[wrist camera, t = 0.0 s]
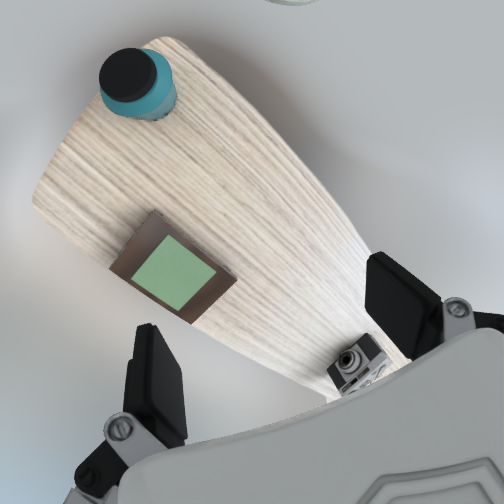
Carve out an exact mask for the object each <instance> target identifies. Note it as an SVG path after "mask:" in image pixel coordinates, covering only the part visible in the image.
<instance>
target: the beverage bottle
mask: <svg viewBox="0 0 504 504" xmlns="http://www.w3.org/2000/svg"><path fill="white" fill-rule="evenodd" d="M99 83H100V91H101V96H102V99H103V102H104V103H105V105H106V106H107V107H108V109H110V110H111V111H112V112H114V113H115V114H118V115H121V116H125V117H133V118H136V120H138V119H139V120H140V119H142V121H143V120H154V121H156V120H157V119H160V118H165V117H164V116H167V115H168V113H169V112H170V111H171V110H173V107H174V105H175V102H176V101H177V99H176V98H177V97H178V96H177V95H178V94H177V93H178V92H177V93H176V90H177V89H175V85H174V82H173V79H172V71H171V67H170V65H169V63H168V61H167V60H166V59H165V58H164V57H163V56H162V55H161V54H159V53H158V52H156V51H153V50H150V49H136V48H126V49H122V50H119V51H117V52H115V53H114V54H112V55H111V56H109V58H108V59H107V60H106V61H105V62H104V64H103V65H102V67H101V70H100V73H99ZM174 108H175V107H174ZM170 113H171V112H170ZM137 118H138V119H137ZM149 122H150V121H149Z"/></svg>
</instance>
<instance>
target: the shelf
mask: <svg viewBox="0 0 504 504" xmlns="http://www.w3.org/2000/svg"><path fill="white" fill-rule="evenodd" d="M109 269H110V270H111V271H113V272H114V273H115V274H117V275H118V276H119V277H121V278H122V279H123V280H125V281H126V282H128V283H129V284H130V285H132V286H133V287H135V288H136V289H138V290H139V291H140V292H142V293H143V294H145V295H146V296H148V297H149V298H151V299H152V300H154V301H155V302H157V303H158V304H160V305H161V306H163V307H164V308H166V309H167V310H169V311H170V312H172V313H173V314H175V315H177V316H178V317H180V318H181V319H183V320H185V321H186V322H188V323H189V324H192V323H193V322H194V321H196V320H197V319H198V318H199V317H200V316H201V315H202V314H203V313H204V312H205V311H206V310H207V309H208V308H209V307H210V306H211V305H212V304H213V303H214V302H215V301H216V300H217V299H218V298H220V297H221V296H222V295H223V294H224V293H225V292H226V291H227V290H228V289H229V288H230V287H231V286H232V285H233V284H234V283H235V282H236V281H237V280H238V279H237V277H236V275H234V274H233V273H232V272H231V270H229V269H228V268H227V267H226V266H224V265H222V264H220V263H219V262H218V261H216V260H215V259H214V258H213V257H211V256H210V255H209V254H208V253H206V252H205V251H204V250H203V249H201V248H200V247H199V246H198V245H196V244H195V243H194V242H193V241H192V240H190V239H189V238H188V237H187V236H185V235H184V234H183V233H182V232H180V231H179V230H178V229H177V228H176V227H174V226H173V225H172V224H171V223H169V222H168V221H167V220H166V219H165V218H163V215H162V214H160V213H159V212H158V211H157V210H155V209H154V210H153V212H152V213H151V214H150V215H149V216H148V218H147V219H146V220H145V221H144V222H143V224H142V225H141V226H140V227H139V229H138V230H137V231H136V232H135V234H134V235H133V236H132V237H131V239H130V240H129V241H128V242H127V244H126V245H125V246H124V248H123V249H122V250H121V252H120V253H119V254H118V256H117V257H116V259H115V260H114V261H113V263H112V264H111V266H110V268H109Z"/></svg>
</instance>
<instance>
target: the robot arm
mask: <svg viewBox="0 0 504 504" xmlns="http://www.w3.org/2000/svg"><path fill="white" fill-rule="evenodd" d="M365 309H366V311H367V313H368V314H369V315H370V316H371V318H372V319H373V320H374V321H375V322H376V323H377V324H378V325H379V327H380V328H381V329H382V330H383V331H384V332H385V333H386V335H387V336H388V337H389V338H390V339H391V340H392V342H393V343H394V344H395V345H396V346H397V347H398V349H399V350H400V351H401V352H402V353H403V355H404V356H405V357H406V358H408V359H411V360H412V361H413V362H411V363H409V364H407V365H406V366H404V367H402V368H400V369H399V370H397V371H395V372H393V373H391V374H389V375H388V376H386V377H384V378H382V379H380V380H378V381H376V382H374V383H372V384H370V385H368V386H366V387H364V388H362V389H360V390H357V391H355V392H353V393H351V394H349V395H347V396H344V397H342V398H340V399H337V400H335V401H333V402H330V403H328V404H325V405H323V406H321V407H318V408H315V409H313V410H310V411H308V412H305V413H302V414H300V415H296V416H294V417H291V418H288V419H285V420H282V421H279V422H276V423H272V424H269V425H266V426H263V427H259V428H256V429H252V430H248V431H245V432H241V433H237V434H233V435H229V436H225V437H221V438H217V439H212V440H208V441H203V442H199V443H194V444H189V445H185V442H184V440H185V439H187V438H188V435H187V427H186V416H185V406H184V395H183V382H182V372H181V368H180V366H179V364H178V363H177V361H176V359H175V357H174V356H173V354H172V352H171V351H170V349H169V347H168V345H167V344H166V342H165V340H164V338H163V336H162V335H161V333H160V331H159V329H158V328H157V326H156V325H154V326H153V325H152V324H151V323H147V324H143V325H139V326H138V327H137V330H136V336H135V343H134V351H133V359H131V360H129V362H128V366H127V375H126V383H125V392H124V403H123V412H119V413H116V414H114V415H112V416H111V417H110V418H109V419H108V420H107V421H106V423H105V425H104V430H103V431H104V436H105V438H106V440H105V441H104V442H102V443H101V445H100V446H99V447H98V448H97V449H95V450H94V451H93V452H92V453H91V454H90V455H89V456H88V457H87V458H86V459H85V460H84V461H83V462H82V463H81V464H80V465H79V466H78V468H77V469H76V471H75V475H74V480H75V484H76V487H75V489H73V488H71V490H70V492H69V494H68V496H67V498H66V499H65V501H64V503H63V504H504V315H501V314H492V313H483V312H475V311H472V307H471V305H470V304H469V303H468V302H467V301H466V300H464V299H461V298H458V297H452V298H449V299H447V300H445V301H444V303H443V302H441V297H440V296H438V295H437V294H436V293H435V292H434V291H433V290H431V289H430V288H429V287H428V286H426V285H425V284H424V283H423V282H421V281H420V280H419V279H417V278H416V277H415V276H414V275H412V274H411V273H410V272H409V271H407V270H406V269H405V268H404V267H402V266H401V265H400V264H398V263H397V262H396V261H394V260H393V259H392V258H390V257H389V256H388V255H386V254H385V253H384V252H381V251H380V252H377V253H375V254H372V255H370V256H369V259H368V260H367V266H366V293H365Z"/></svg>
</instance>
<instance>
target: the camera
mask: <svg viewBox="0 0 504 504" xmlns="http://www.w3.org/2000/svg"><path fill="white" fill-rule="evenodd" d="M392 363H393V362H392V360H391V359H390V358H389V357H388V355H387V354H386V353H385V351H384V350H383V349H382V348H381V346H380V345H379V344H378V343H377V341H376V340H375V339H374V338H373V337H372V336H370V335H369V334H368V333H365V334H364V335H363V336H362V337H361V338H360V339H359V340H358V341H357V342H356V343H355V344H354V345H353V346H352V347H351V348H350V349H349V350H346V351H344V352H342V353H341V354H340V356H339V358H338V360H337V361H336V362H335V363H333V364H332V365H331V366H330V367H329V368H328V369H327V372H328V373H329V375H330V377H331V379H332V380H333V382H334V384H335V386H336V387H337V389H338V391H339V393H340V394H341V396H342V397H344V396H347V395H349V394H351V393H353V392H355V391H357V390H360V389H362V388H364V387H365V386H366V385H368V384H369V383H370V384H371V383H372V382H371V381H373V380H375V379H376V378H378V377H379V376H380V375H381V374H382V372H383V371H384V370H385V369H386V368H388V367H389V366H390V365H391V364H392Z"/></svg>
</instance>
